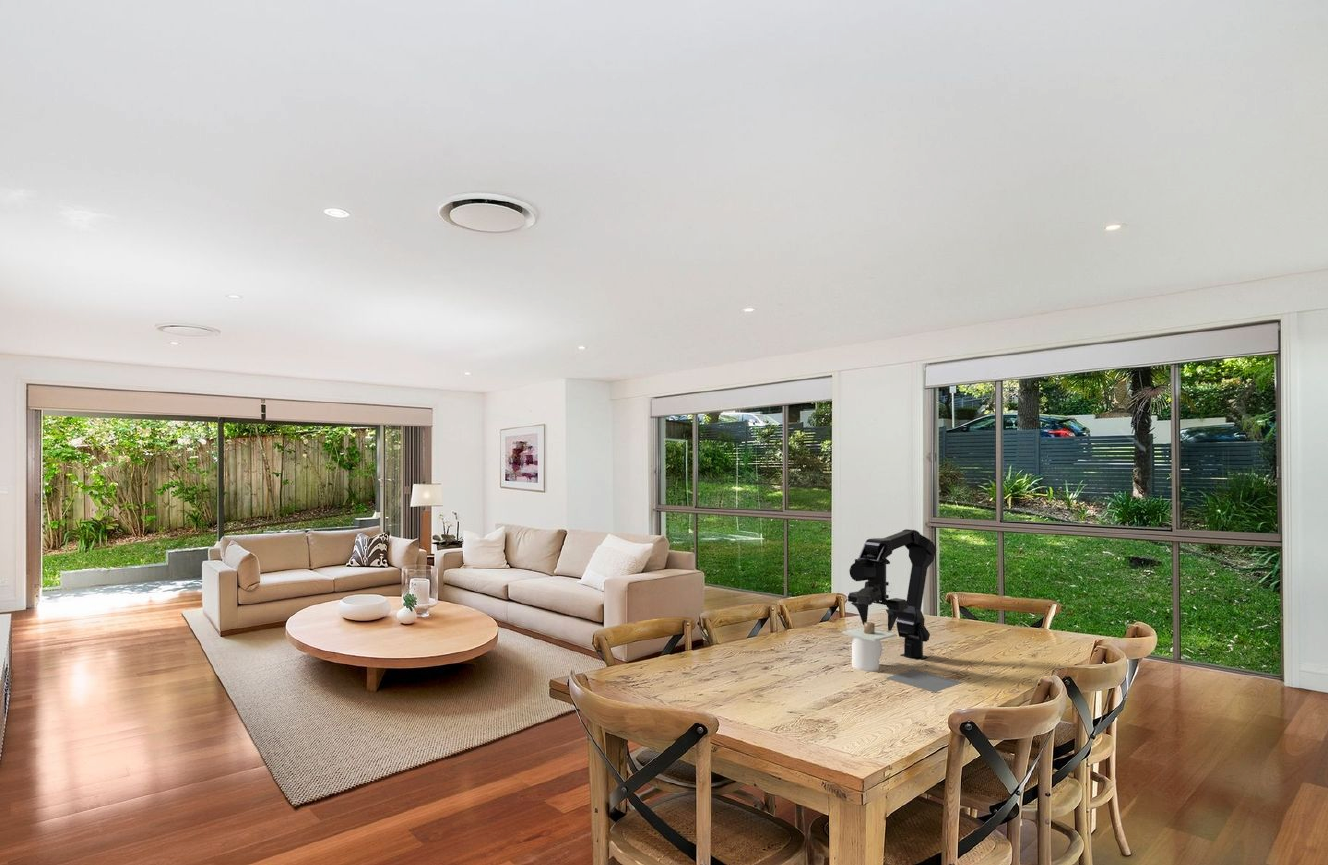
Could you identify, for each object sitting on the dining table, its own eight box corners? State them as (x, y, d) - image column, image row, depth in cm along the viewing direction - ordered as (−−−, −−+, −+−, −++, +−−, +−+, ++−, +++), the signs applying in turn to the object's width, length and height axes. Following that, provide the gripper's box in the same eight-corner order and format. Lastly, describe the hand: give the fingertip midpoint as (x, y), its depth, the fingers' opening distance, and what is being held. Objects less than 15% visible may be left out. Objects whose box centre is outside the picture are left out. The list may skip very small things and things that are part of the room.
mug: (871, 662, 223) (871, 630, 224) (892, 668, 216) (892, 635, 217) (846, 667, 216) (846, 634, 217) (867, 673, 209) (867, 639, 210)
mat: (913, 670, 214) (913, 669, 214) (963, 683, 202) (963, 682, 202) (884, 679, 204) (884, 678, 204) (934, 693, 192) (934, 692, 192)
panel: (864, 628, 225) (864, 617, 225) (896, 636, 216) (897, 624, 216) (841, 633, 218) (842, 622, 218) (874, 641, 208) (874, 629, 208)
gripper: (837, 577, 222) (837, 625, 222) (888, 585, 208) (888, 637, 207) (858, 574, 229) (858, 621, 229) (908, 581, 215) (908, 632, 214)
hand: (877, 627), depth 219 cm, fingers open, 9 cm apart
